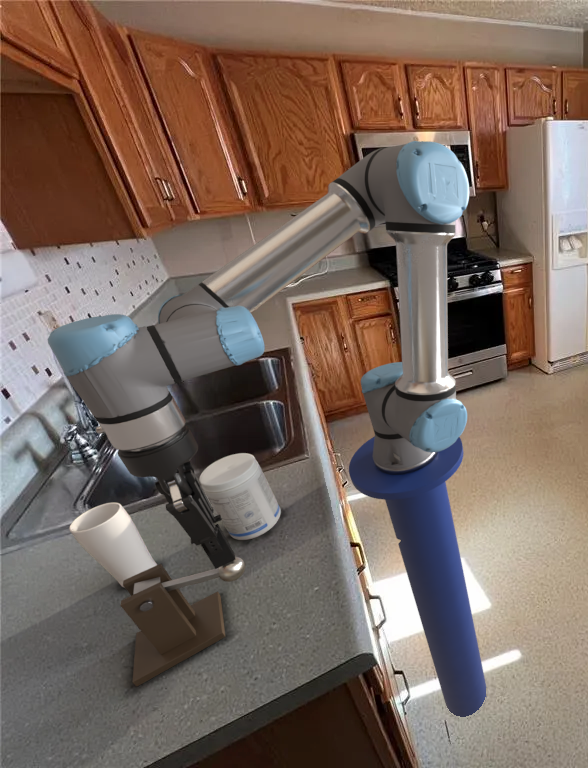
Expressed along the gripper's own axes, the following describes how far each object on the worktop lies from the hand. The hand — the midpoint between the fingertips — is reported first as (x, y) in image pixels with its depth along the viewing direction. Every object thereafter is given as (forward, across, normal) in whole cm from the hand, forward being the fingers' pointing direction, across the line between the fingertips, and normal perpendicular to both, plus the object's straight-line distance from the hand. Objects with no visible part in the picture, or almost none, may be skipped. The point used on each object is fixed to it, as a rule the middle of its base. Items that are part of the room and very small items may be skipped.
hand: (225, 560), depth 64 cm
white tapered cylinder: (+10, -19, -15) cm, 26 cm away
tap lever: (+2, 0, -5) cm, 5 cm away
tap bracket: (+10, 0, -9) cm, 14 cm away
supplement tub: (+10, -19, +4) cm, 22 cm away
